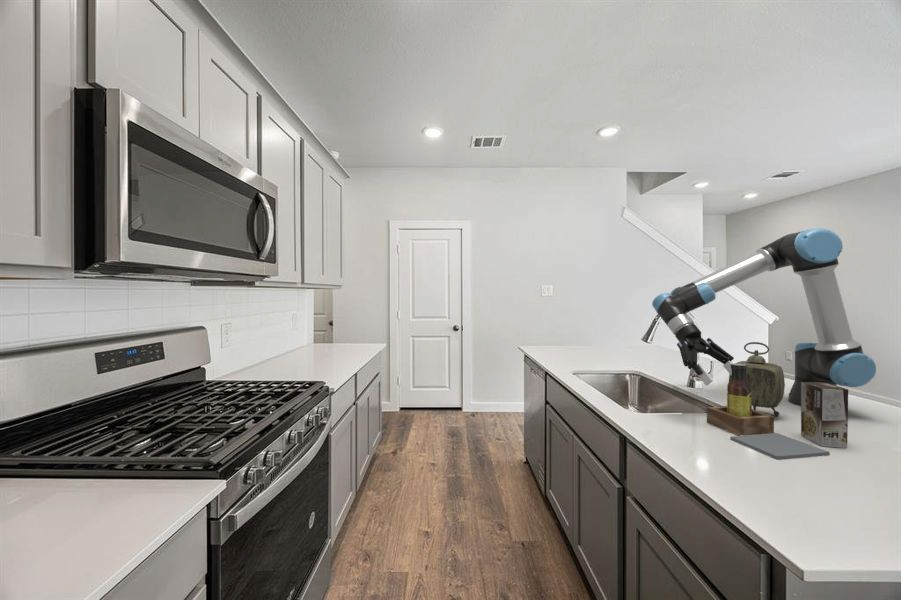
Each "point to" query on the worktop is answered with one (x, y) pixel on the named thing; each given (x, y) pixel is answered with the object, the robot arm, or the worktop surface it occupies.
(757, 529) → the worktop surface
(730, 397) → the sauce bottle
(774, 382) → the tabletop clock
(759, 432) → the bottle holder
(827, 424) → the coffee box
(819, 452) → the rubber mat
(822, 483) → the worktop surface
